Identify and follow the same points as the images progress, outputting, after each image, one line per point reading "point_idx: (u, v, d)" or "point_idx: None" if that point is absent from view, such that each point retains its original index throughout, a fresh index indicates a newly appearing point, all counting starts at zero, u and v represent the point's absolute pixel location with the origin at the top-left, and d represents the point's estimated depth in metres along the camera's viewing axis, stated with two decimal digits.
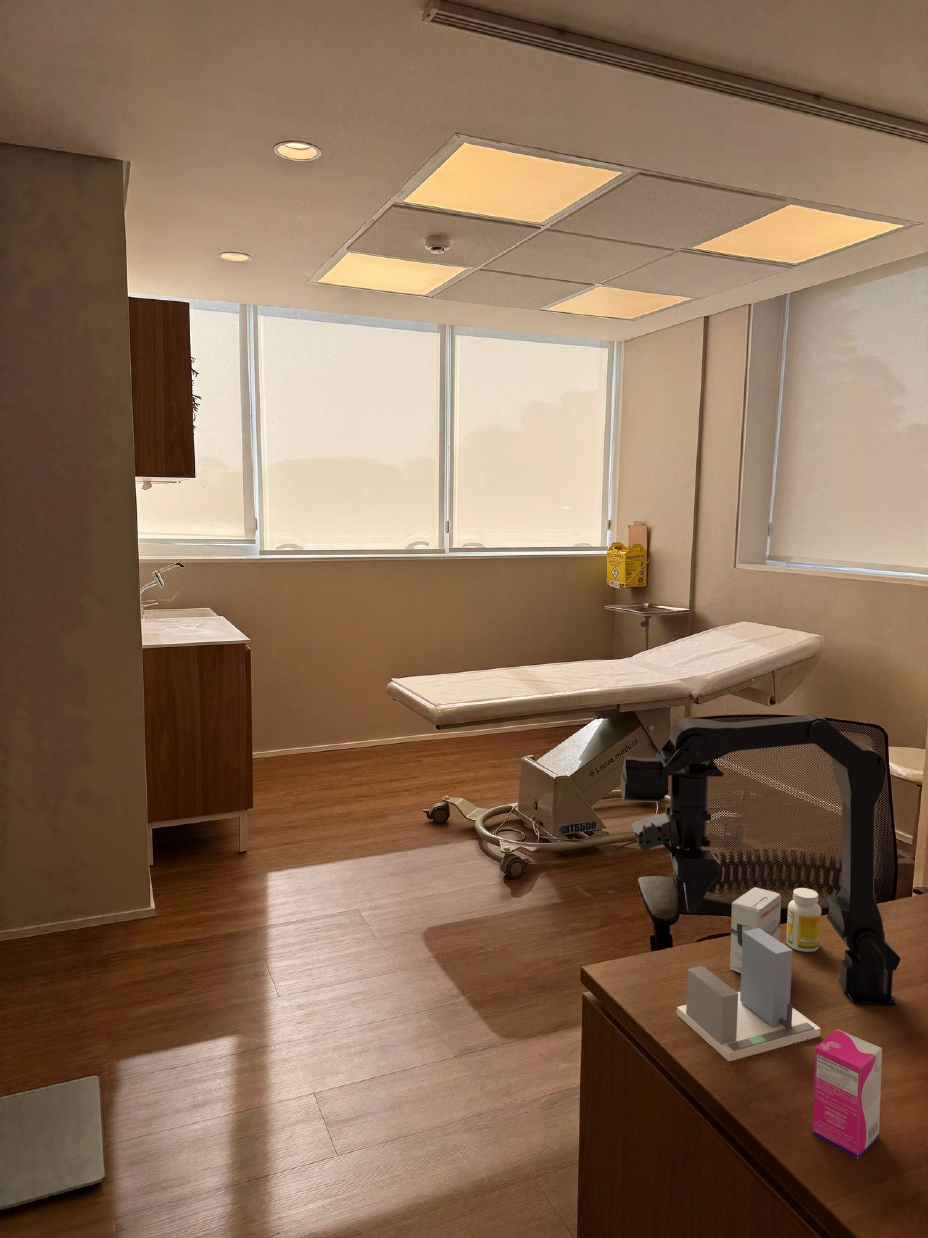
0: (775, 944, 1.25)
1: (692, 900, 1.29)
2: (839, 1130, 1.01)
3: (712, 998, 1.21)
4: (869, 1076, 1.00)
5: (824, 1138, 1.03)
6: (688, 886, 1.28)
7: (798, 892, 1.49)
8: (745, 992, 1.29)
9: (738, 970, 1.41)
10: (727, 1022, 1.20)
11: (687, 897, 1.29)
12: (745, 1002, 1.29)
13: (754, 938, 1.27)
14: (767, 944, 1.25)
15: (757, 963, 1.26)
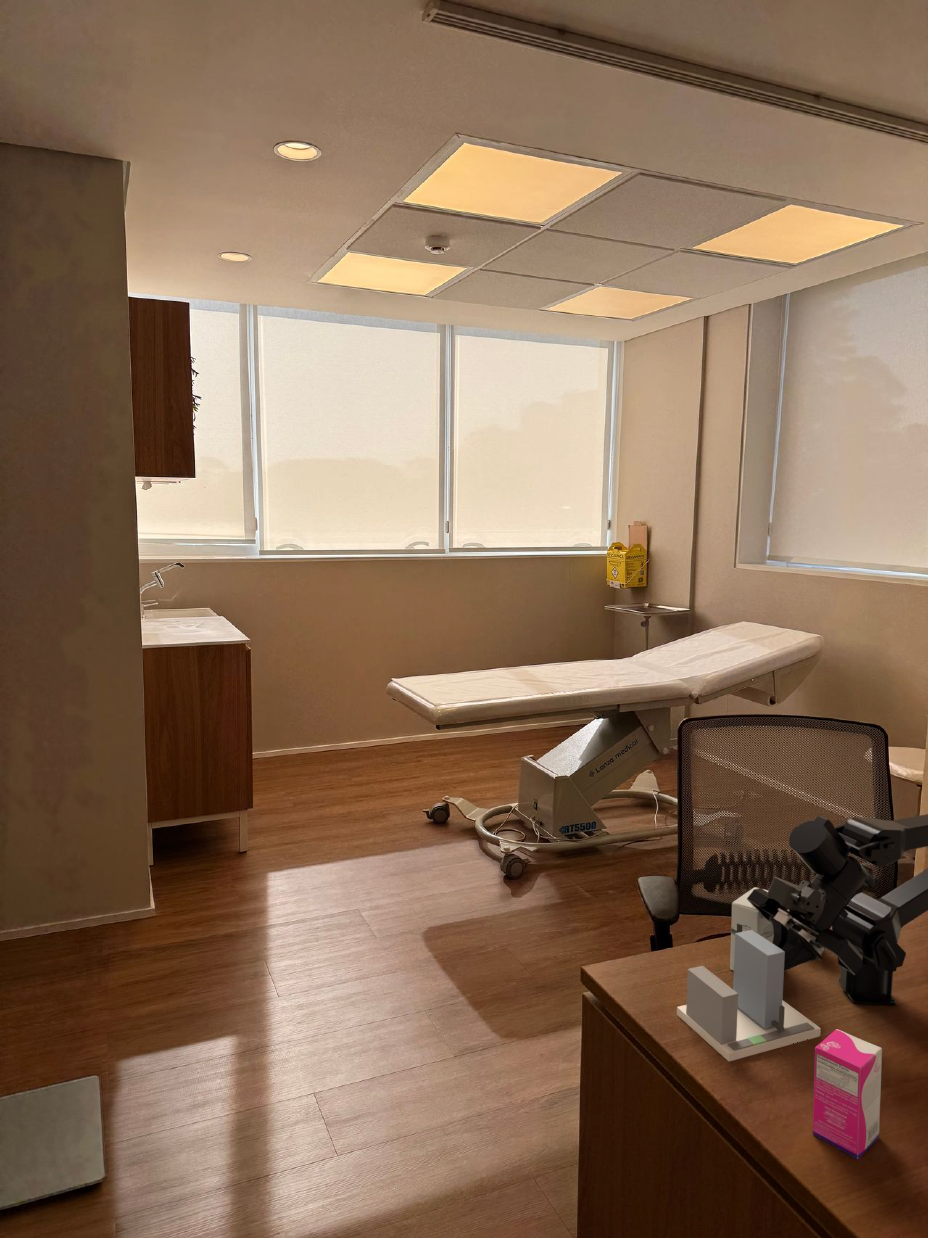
0: (767, 946, 1.24)
1: None
2: (839, 1130, 1.01)
3: (712, 998, 1.21)
4: (869, 1076, 1.00)
5: (824, 1138, 1.03)
6: (792, 951, 1.26)
7: None
8: None
9: None
10: (727, 1022, 1.20)
11: None
12: None
13: (747, 940, 1.26)
14: (759, 945, 1.24)
15: (749, 965, 1.25)
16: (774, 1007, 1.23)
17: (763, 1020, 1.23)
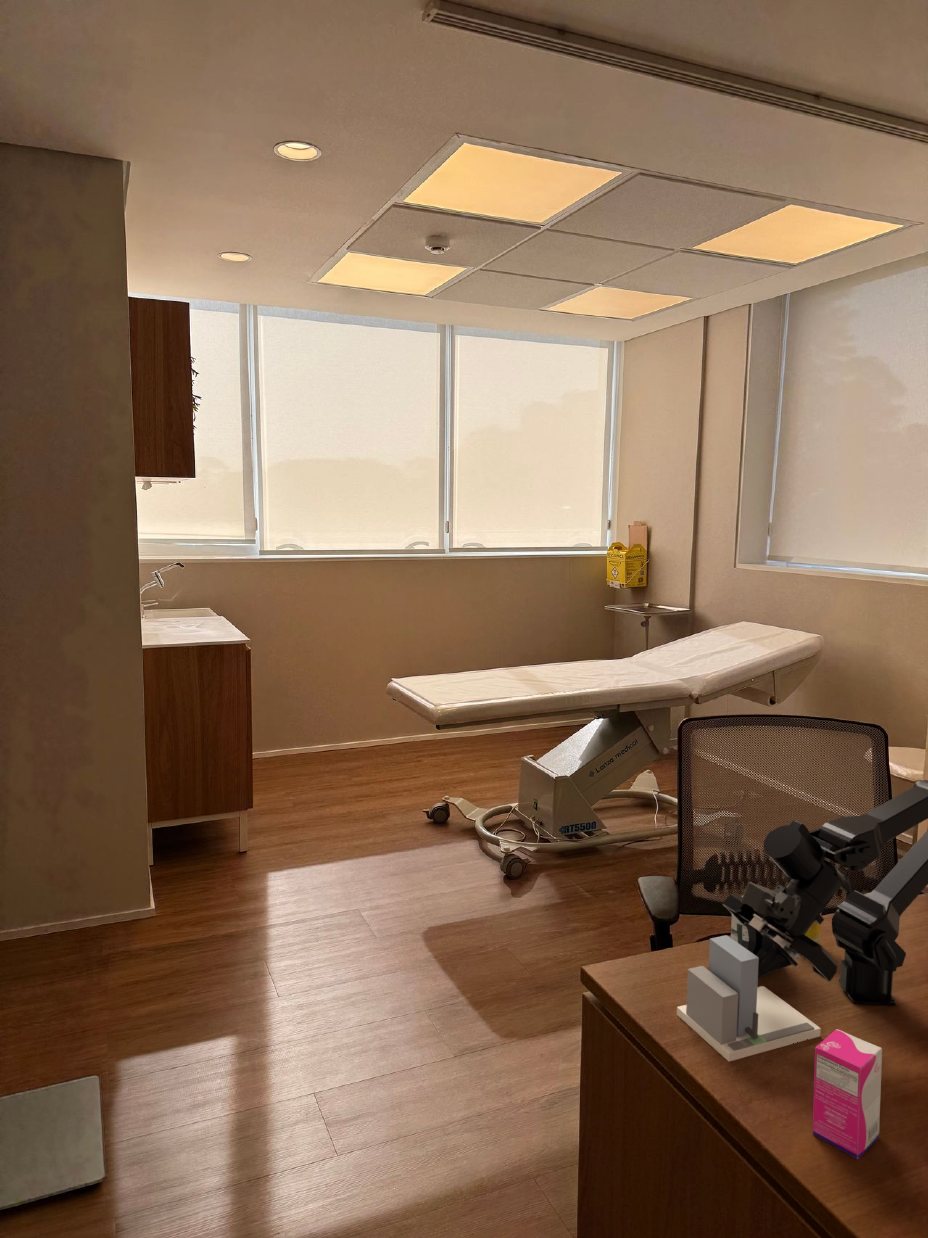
0: (741, 952, 1.23)
1: None
2: (839, 1130, 1.01)
3: (712, 998, 1.21)
4: (869, 1076, 1.00)
5: (824, 1138, 1.03)
6: (766, 957, 1.24)
7: None
8: None
9: None
10: (727, 1022, 1.20)
11: None
12: None
13: (721, 945, 1.24)
14: (733, 951, 1.23)
15: (723, 971, 1.24)
16: (748, 1014, 1.22)
17: (737, 1027, 1.21)
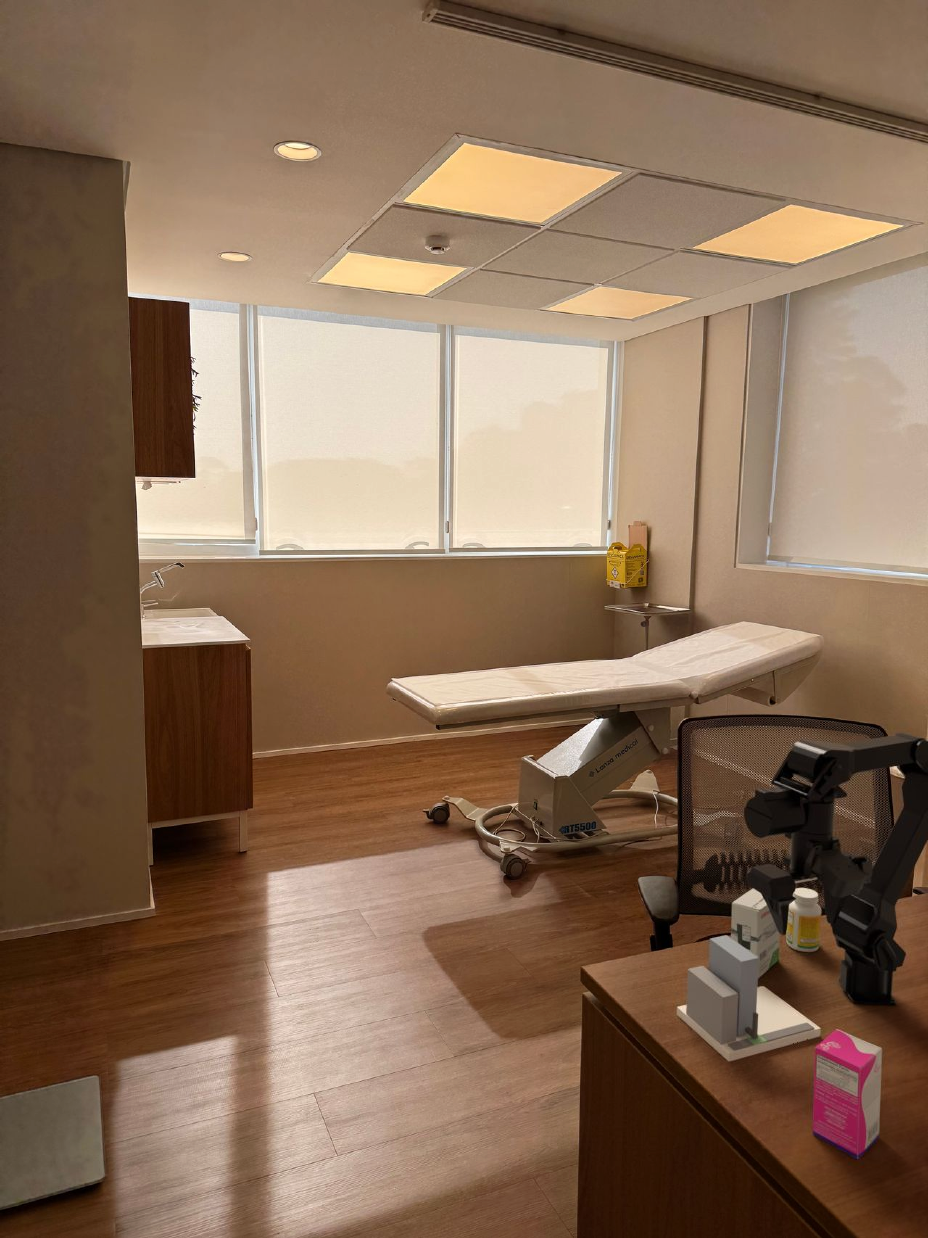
0: (741, 952, 1.23)
1: None
2: (839, 1130, 1.01)
3: (712, 998, 1.21)
4: (869, 1076, 1.00)
5: (824, 1138, 1.03)
6: None
7: (798, 892, 1.49)
8: None
9: None
10: (727, 1022, 1.20)
11: None
12: None
13: (721, 945, 1.24)
14: (733, 951, 1.23)
15: (723, 971, 1.24)
16: (748, 1014, 1.22)
17: (737, 1027, 1.21)
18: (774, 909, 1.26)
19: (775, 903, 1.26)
